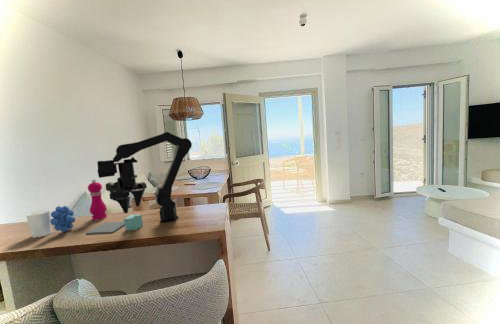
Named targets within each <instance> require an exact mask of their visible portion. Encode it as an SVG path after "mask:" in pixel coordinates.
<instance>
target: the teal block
mask: <svg viewBox="0 0 500 324" xmlns="http://www.w3.org/2000/svg"><path fill="white" fill-rule="evenodd" d="M123 220H124V221H123V222H125V226H124V228H125V231H136V230H137V231H138V230H139V229H140V228H141V227H143V226H144V225H143V216H142V214H131V215H128V216H127V217H125V218H124V219H123Z"/></svg>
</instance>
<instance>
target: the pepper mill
mask: <svg viewBox="0 0 500 324" xmlns="http://www.w3.org/2000/svg"><path fill="white" fill-rule="evenodd" d="M102 188H103V186H102V184H101V183H100V182H97V180H96V179H92V180H91V182H90V183H89V185H88V186H87V191H88V192H89V196H90V197H91V204H90V207H89V213H90V214H91V215H92V216H91V218H92V220H93V221H100V220H103V219H106V218H107V217H108V216H107V213H106V212H107V205H106V203H105V202H104V201H103V198H102V194H103V193H102V191H101V190H102Z"/></svg>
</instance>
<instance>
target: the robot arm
mask: <svg viewBox="0 0 500 324" xmlns="http://www.w3.org/2000/svg"><path fill="white" fill-rule="evenodd" d="M165 142H167V143H169V144H171V145H174V146H175V147H174V156H173V159H172V161H171V164H170V166H169V168H168V171H167V172H166V175H165V178H164V180H163V182H162V184H161V185H160V186H158V185H157V186H156V190H155V193H153V195H154V200H155V202H156V204H157V205H159V206H161V207H159V218H160V220H159V222H160V223H167V222H170V223H171V222H175V221H176V220H177V219H178V218H179V215H178V214H177V205H176V204H177V203H176V201H174V200H173V199H172V198H171V197H172V190H173V189H172V188H173V185H174V182H175V181H176V177H177V176H178V173H179V170H180V167H181V165H182V164H183V160H184V159H185V157H186V156H187V155H188V153H189V151H190V150H191V148H192V144H193V143H192V141H191V140H190V139H189V138H186V137H184V138H182V137H180V136H178V135H174V134H172V133H171V132H169V131H165V132H162V133H160V134H158V135H157V134H156V135H154V136H151V137H149V138H146V139H143V140H140V141H135V142H130V143H125V144H123V143H122V144H120V145H118V146H117V147H116V150H115V153H116V154H115V155H114V157H112V159H110V160H109V159H108V160H97V175H98V178H99V179H100V178H108V177H109V178H110V177H114V176H115V174H117V173H118V174H119V177H117V179H116V182H111V181H110V182H106V184H105V191H107V192H109V200H112V201H113V202H114V201H115V202H117V203H118V204H119V206H120V207H121V209H122V210H123V212H124V214H128V212H129V209H130V208H129V206H130V200H131V197H130V193H131V194H132V195H133V199H134V202H135V206H136V207H140V205H141V203H142V199H143V197H144V194H145V191H146V189H147V184H146V183H145V182H144V181H142V182H136V178H138V174H135V168H134V163H135V164H136V163H138V159H135V157H134V155H135V154H137V153H138V152H140V151H143V150H145V149H148V148H151V147H153V146H156V145H159V144H161V143H165ZM131 156H132V157H131ZM122 159H123V161H122ZM120 161H121V162H120ZM117 166H118V167H117Z"/></svg>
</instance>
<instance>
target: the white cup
mask: <svg viewBox="0 0 500 324" xmlns="http://www.w3.org/2000/svg"><path fill="white" fill-rule="evenodd" d="M51 219H52V217H51V210H50V209H41V210H36V211H33V212H30V213H27V214H26V221H27V225H28V227H29V230H30V233H31V237H32V238H34V239H37V238H36V237H38V238H41V237H42V236H43V237H45V236H48V235H51V234H52V233H53V229H52V224H51V223H50V221H51ZM43 237H42V238H43Z"/></svg>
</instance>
